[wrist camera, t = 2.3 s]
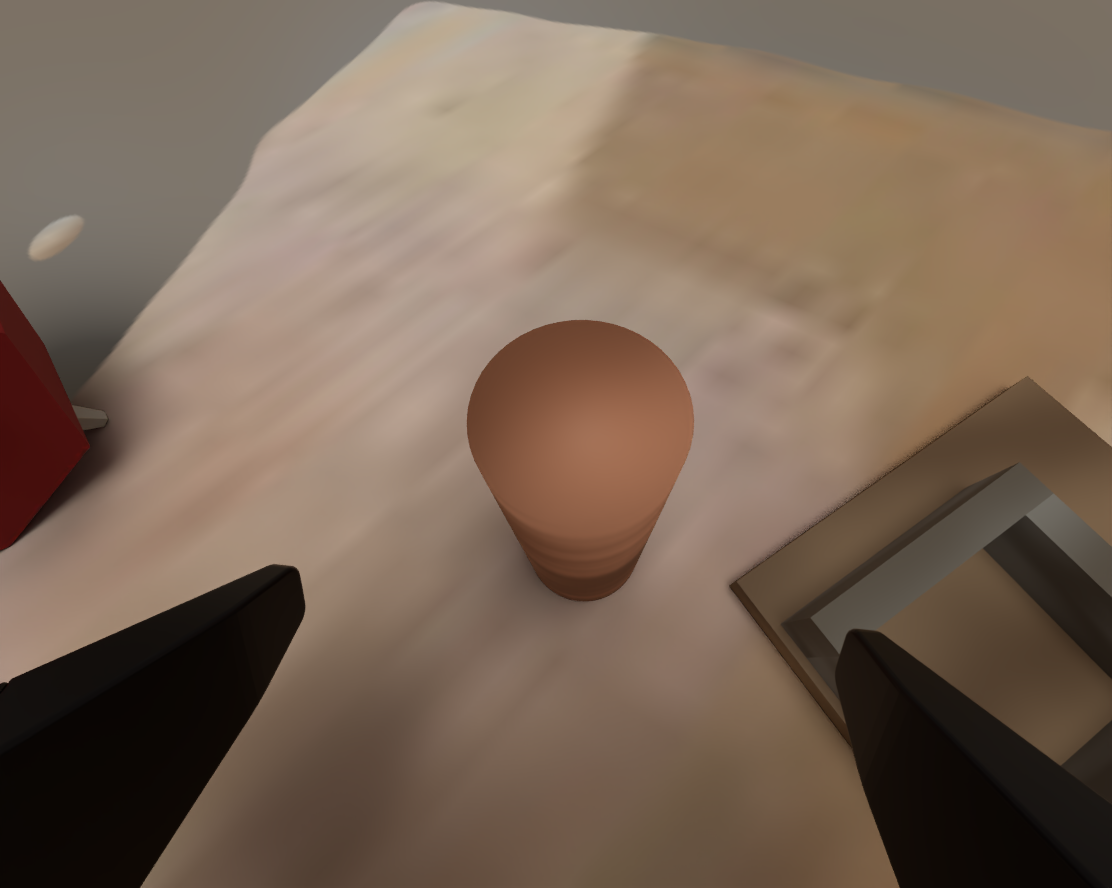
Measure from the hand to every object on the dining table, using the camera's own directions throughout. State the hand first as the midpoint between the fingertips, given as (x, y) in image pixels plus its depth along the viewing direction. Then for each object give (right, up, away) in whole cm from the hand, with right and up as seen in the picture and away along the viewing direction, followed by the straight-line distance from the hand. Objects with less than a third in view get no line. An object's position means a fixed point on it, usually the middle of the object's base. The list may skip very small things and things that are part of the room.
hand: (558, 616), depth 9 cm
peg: (+1, -1, +11) cm, 11 cm away
